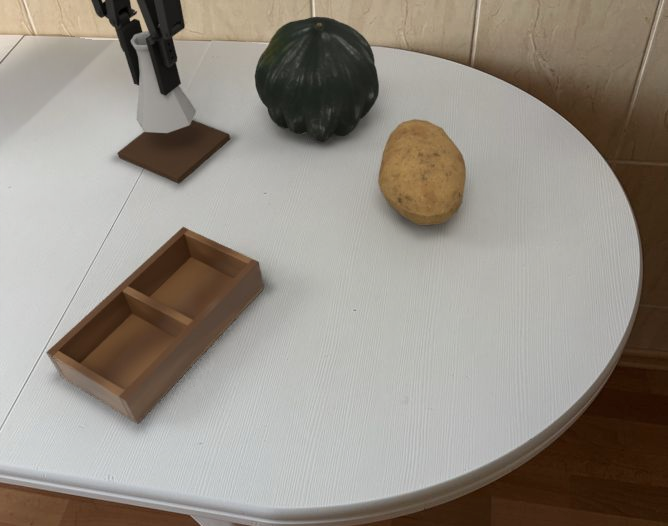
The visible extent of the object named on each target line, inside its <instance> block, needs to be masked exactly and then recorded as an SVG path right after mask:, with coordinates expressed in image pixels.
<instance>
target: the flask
mask: <svg viewBox="0 0 668 526" xmlns="http://www.w3.org/2000/svg"><path fill="white" fill-rule="evenodd" d="M148 36H150V34H149V31H148V30H147V31H143V32H141V33H138V34H135V35H134V36H133V38H132V39H131V44H132V45H133V47H134V48H135V50H136V52H137V55H138V61H139V71H140V77H139V85H138V97H137V108H136V121H137V123H138V125H139V126H140V128H141V129H142V131H143V132H156V133H169V132H172V131H175V130H177V129H180V128H183V127H186V126H189V125H190V124H191V122H192V120H194V117H195V116H196V112H197V110H196V108H195V107H194V105H193V103H192V102H191V101H190V99H189V98H188V96H187V95H186V94H185V92H184V91H183V88H181V86H180V85H179V86H177V87H176V88H175V89H174V90H172V91H171V92H170V93H168V94H167V95H166V96H165V95H163V94H161V93H160V89H159V86H158V82H157V79H156V75H155V71H154V68H153V64H152V61H151V57H150V53H149V50H148V46H147V43H146V38H147V37H148Z"/></svg>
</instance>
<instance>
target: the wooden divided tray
mask: <svg viewBox="0 0 668 526" xmlns="http://www.w3.org/2000/svg"><path fill="white" fill-rule="evenodd" d="M260 265H261V264H260V261H258V260H256V259H254V258H252V257H250V256H247V255H245V254H243V253H241V252H239V251H237V250H234V249H232V248H230V247H228V246H226V245H224V244H222V243H220V242H217V241H215V240H213V239H211V238H209V237H206V236H204V235H202V234H199V233H197V232H195V231H193V230H192V229H189V228H186V227H184V226H182V227H181V228H180V229H179V230H178V231H176V233H174V235H172V236H171V237H170V238H169V239H168V240H167V241H166V242H164V243H163V244H162V245H161V246H160V247H159V248H158V249H157V250H156V251H155V252H154V253H153V254H152V255H151V256H149V258H147V259H146V260H144V262H143V263H142V264H141V265H139V267H137V268H136V269H135V270H134V271H133V272H132V273H131V274H130V275H129V276H128V277H126V278H125V279H124V280H123V281H122V282H121V283H120V284H119V285H118V286H117V287H115V288H114V290H112V291H111V292H110V293H109V294H108V295H107V296H106V297H105V298H104V299H102V300H101V302H99V304H97V305H96V306H94V308H93V309H92V310H90V312H89V313H87V314H86V315H85V316H84V317H83V318H82V319H81V320H80V321H79V322H78V323H77V324H75V325H74V326H73V327H72V328H71V329H70V330H69V331H68V332H66V334H64V336H62V337H61V338H60V339H59V340H58V341H57V342H56V343H55V344H54V345H53V346H52V347H50V348H49V349H48V350H47V351H46V355H47V357H48V358H49V359H50V361H51V364H52V365H53V366H54V368H55V369H56V371H57V372H58V374H59V376H60V377H61V378H62V379H64V380H65V381H66V382H69V383H71V384H72V385H73V386H75V387H77V388H78V389H80V390H81V391H83V392H85V393H87V394H88V395H90V396H92V397H93V398H95V399H96V400H97V401H100V402H101V403H103V404H104V405H106V406H107V407H109V408H111V409H112V410H114V411H116V412H117V413H119V414H120V415H122V416H124V417H125V418H127V419H129V420H131V421H132V422H134V423H135V424H137V425H139V424H140V423H141V421H142V420H143V419H144V418H145V417H146V416H147V415H148V414H149V413H150V412H151V411H152V410H153V409H154V408H155V406H157V404H158V403H160V401H161V400H162V399H163V398H164V397H165V396H166V394H168V392H169V391H170V390H171V389H172V388H173V387H174V386H175V385H176V384H177V383H178V381H180V379H181V378H182V377H183V376H184V375H185V374H186V373H187V372H188V371H189V370H190V369H191V368H192V366H194V364H195V363H196V362H197V361H198V360H199V359H200V358H201V357H202V356H203V355H204V354H205V352H207V351H208V349H209V348H210V347H212V345H213V344H214V343H215V342H216V341H217V340H218V338H220V337H221V335H222V334H223V333H225V331H226V330H227V329H228V328H229V327H230V326H231V325H232V323H233V322H235V320H236V319H237V318H238V317H239V316H240V315H241V314H242V313H243V312H244V310H246V309H247V307H248V306H250V304H251V303H252V302H253V301H254V300H255V299H256V298H257V297H258V296H259V295H260V293H262V291H263V290H264V288H265V286H264V281H263V276H262V271H261V266H260Z"/></svg>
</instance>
